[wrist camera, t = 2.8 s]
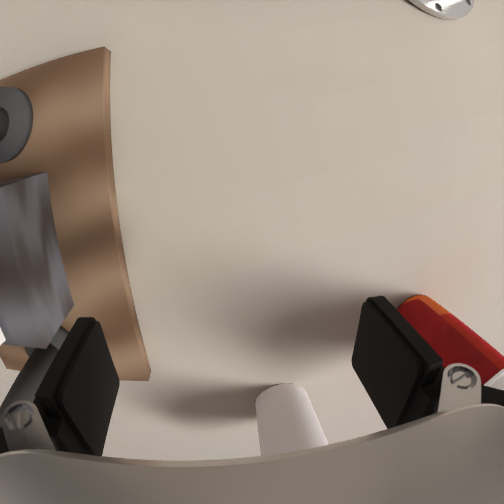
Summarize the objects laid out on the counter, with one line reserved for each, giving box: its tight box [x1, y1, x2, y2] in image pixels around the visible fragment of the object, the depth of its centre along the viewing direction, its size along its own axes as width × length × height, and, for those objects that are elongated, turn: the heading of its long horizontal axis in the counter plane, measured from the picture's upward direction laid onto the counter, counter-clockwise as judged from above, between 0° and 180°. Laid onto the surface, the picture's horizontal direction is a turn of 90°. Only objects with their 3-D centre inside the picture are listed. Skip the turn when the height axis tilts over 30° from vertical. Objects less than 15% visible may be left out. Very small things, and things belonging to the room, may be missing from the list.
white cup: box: [255, 384, 328, 456], centre depth 26 cm, size 7×7×10 cm
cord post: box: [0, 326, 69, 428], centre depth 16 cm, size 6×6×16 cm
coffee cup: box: [396, 295, 504, 390], centre depth 22 cm, size 8×8×15 cm
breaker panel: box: [0, 47, 151, 381], centre depth 18 cm, size 28×18×8 cm, turn 1°
